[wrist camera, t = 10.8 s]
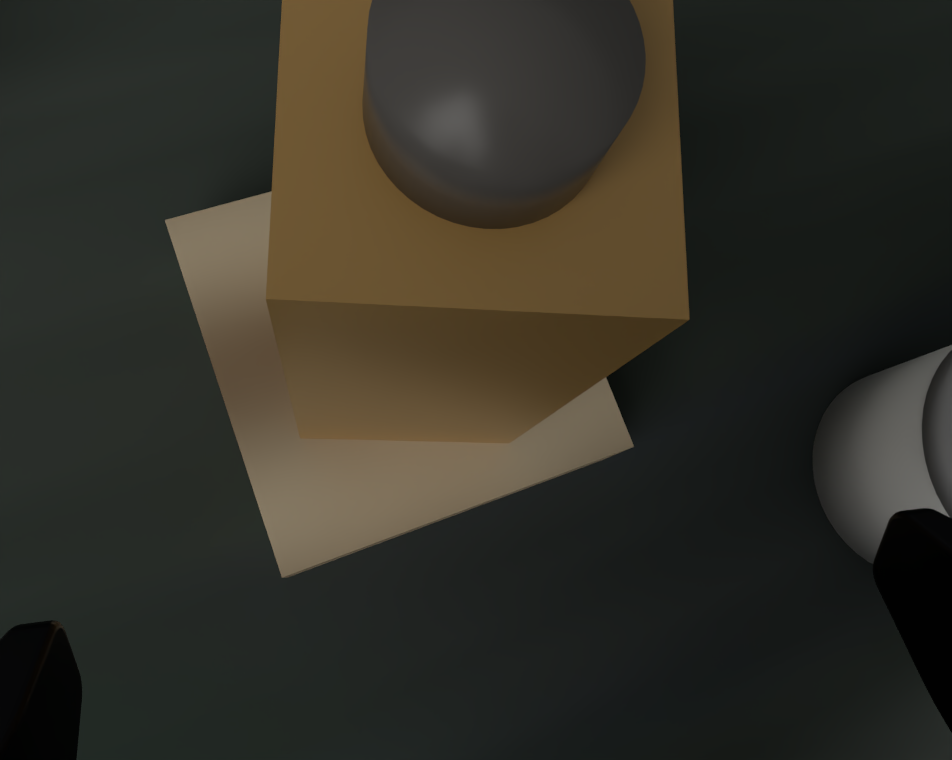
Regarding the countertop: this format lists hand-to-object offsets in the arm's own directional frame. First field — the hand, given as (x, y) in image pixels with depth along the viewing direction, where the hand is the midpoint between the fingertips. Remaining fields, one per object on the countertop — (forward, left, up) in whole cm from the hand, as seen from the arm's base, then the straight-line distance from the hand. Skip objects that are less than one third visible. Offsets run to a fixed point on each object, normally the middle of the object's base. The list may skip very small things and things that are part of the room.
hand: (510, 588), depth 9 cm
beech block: (+6, -2, -14) cm, 15 cm away
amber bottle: (+6, -2, -11) cm, 12 cm away
